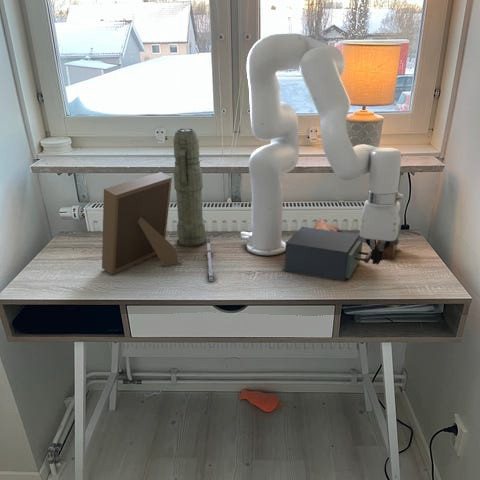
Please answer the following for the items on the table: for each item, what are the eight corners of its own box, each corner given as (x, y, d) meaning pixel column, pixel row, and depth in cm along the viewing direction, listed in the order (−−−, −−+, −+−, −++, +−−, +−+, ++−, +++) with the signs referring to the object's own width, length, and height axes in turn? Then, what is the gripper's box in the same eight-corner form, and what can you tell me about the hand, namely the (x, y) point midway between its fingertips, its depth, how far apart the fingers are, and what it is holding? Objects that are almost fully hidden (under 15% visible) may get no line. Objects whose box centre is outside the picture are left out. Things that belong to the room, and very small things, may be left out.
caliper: (206, 253, 162) (206, 234, 159) (210, 253, 163) (209, 234, 159) (209, 281, 145) (208, 260, 142) (213, 281, 145) (212, 260, 142)
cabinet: (356, 261, 156) (359, 234, 152) (344, 281, 145) (347, 252, 140) (300, 252, 162) (302, 226, 158) (284, 270, 151) (285, 242, 147)
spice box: (375, 256, 159) (377, 239, 157) (380, 247, 166) (382, 231, 163) (391, 259, 158) (394, 242, 155) (396, 249, 164) (399, 233, 161)
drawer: (374, 262, 153) (377, 240, 150) (364, 280, 143) (366, 257, 139) (307, 252, 161) (308, 231, 157) (292, 268, 150) (293, 246, 147)
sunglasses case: (339, 247, 164) (329, 229, 162) (319, 257, 167) (309, 239, 165) (339, 228, 180) (330, 211, 177) (321, 237, 182) (312, 221, 180)
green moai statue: (175, 247, 167) (167, 133, 149) (180, 234, 177) (173, 126, 160) (203, 248, 166) (198, 133, 149) (206, 234, 177) (202, 126, 159)
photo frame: (102, 271, 152) (89, 185, 139) (154, 247, 167) (146, 169, 154) (138, 283, 144) (128, 194, 132) (189, 258, 159) (184, 176, 147)
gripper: (413, 195, 137) (406, 260, 146) (357, 192, 143) (353, 254, 151) (409, 203, 131) (401, 270, 140) (350, 199, 137) (346, 264, 145)
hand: (376, 262), depth 146 cm, fingers closed
